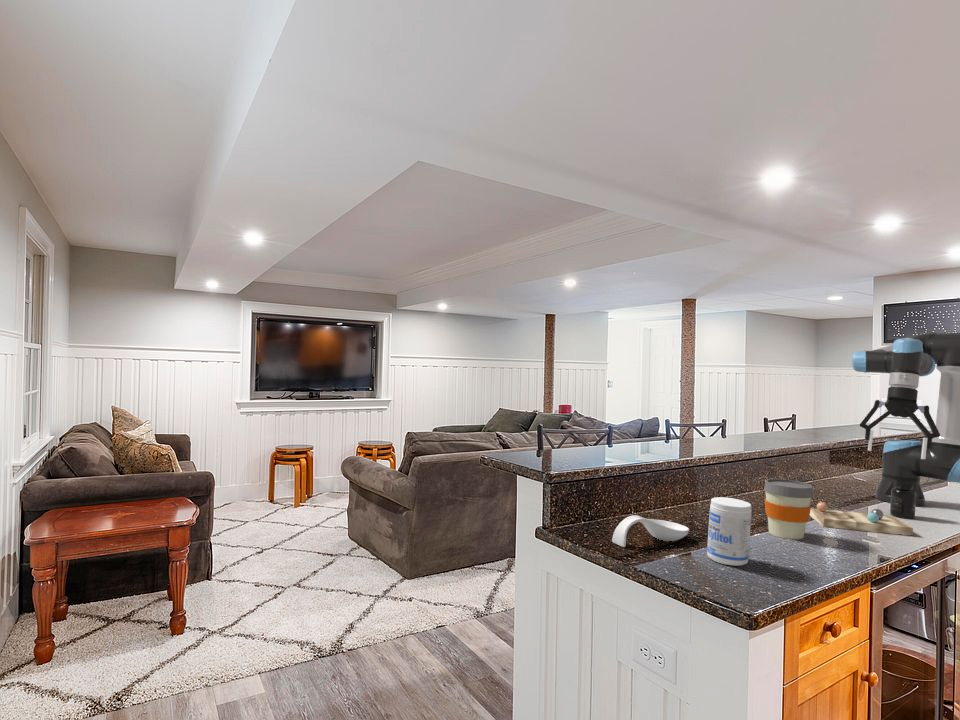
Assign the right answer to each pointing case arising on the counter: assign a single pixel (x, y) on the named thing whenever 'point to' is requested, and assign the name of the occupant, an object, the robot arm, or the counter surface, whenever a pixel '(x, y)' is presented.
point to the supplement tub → (729, 531)
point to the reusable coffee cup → (787, 507)
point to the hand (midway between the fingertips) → (895, 454)
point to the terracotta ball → (822, 506)
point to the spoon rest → (650, 529)
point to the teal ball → (872, 517)
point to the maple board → (860, 522)
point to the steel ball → (878, 513)
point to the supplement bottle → (903, 500)
